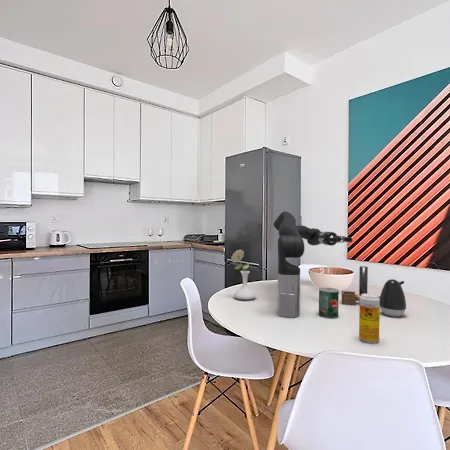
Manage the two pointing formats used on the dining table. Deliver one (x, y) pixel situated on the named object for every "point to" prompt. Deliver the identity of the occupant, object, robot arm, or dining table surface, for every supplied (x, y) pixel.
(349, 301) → the socket
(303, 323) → the dining table surface
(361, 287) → the copper and grey mallet
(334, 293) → the canned tomato
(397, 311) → the pump dispenser
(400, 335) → the dining table surface
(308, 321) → the dining table surface
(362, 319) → the beer can
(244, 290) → the flower in vase
